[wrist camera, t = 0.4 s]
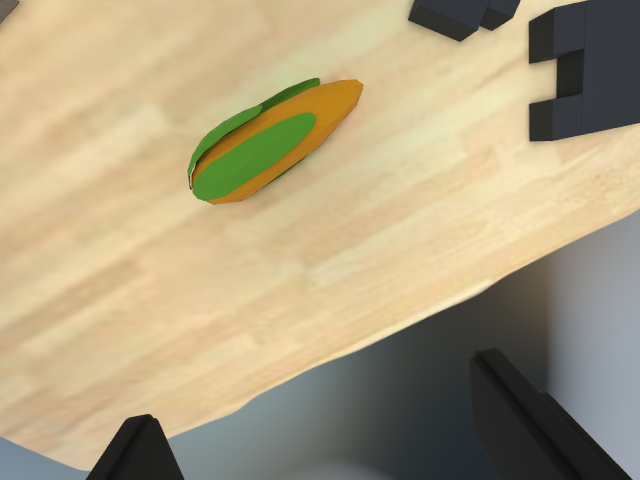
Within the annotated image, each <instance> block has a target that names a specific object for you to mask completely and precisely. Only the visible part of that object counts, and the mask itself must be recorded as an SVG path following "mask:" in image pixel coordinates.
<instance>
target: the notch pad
mask: <svg viewBox="0 0 640 480" xmlns="http://www.w3.org/2000/svg"><path fill="white" fill-rule="evenodd" d="M556 58H557V98H556V99H551V100H546V101H542V102H537V103H532V104H530V141H554V140H559V139H564V138H569V137H573V136H578V135H583V134H588V133H593V132H598V131H603V130H607V129H612V128H617V127H622V126H627V125H632V124H637V123H640V0H587V1H583V2H578V3H574V4H569V5H564V6H560V7H555V8H553V9H551V10H549V11H547V12H546V13H544V14H542V15H540V16H538V17H537V18H535V19H533V20H531V21H530V22H529V63H530V64H532V63H537V62H542V61H546V60H551V59H556Z"/></svg>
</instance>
